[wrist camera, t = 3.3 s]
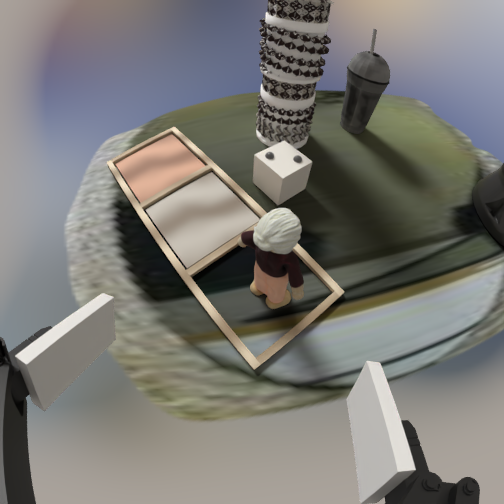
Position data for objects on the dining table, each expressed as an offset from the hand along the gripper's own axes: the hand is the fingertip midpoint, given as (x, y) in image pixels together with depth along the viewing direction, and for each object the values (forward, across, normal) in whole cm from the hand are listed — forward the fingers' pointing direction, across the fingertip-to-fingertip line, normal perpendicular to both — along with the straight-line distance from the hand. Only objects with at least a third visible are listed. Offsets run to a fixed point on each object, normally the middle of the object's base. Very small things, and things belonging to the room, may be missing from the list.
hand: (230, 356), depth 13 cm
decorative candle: (+36, -2, +15) cm, 39 cm away
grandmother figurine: (+17, +1, -3) cm, 17 cm away
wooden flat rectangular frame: (+22, -9, +2) cm, 24 cm away
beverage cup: (+41, +10, +21) cm, 47 cm away
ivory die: (+27, -1, +7) cm, 28 cm away
